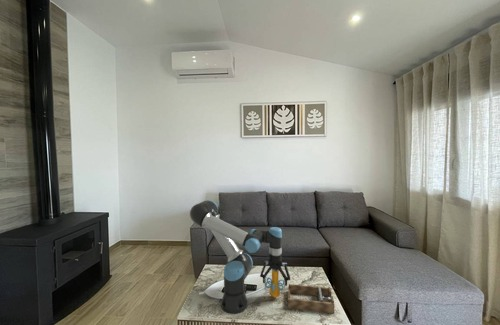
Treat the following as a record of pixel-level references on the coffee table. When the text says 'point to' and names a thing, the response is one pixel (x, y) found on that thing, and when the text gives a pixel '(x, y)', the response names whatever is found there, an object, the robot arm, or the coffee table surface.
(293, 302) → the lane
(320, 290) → the pusher
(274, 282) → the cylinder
